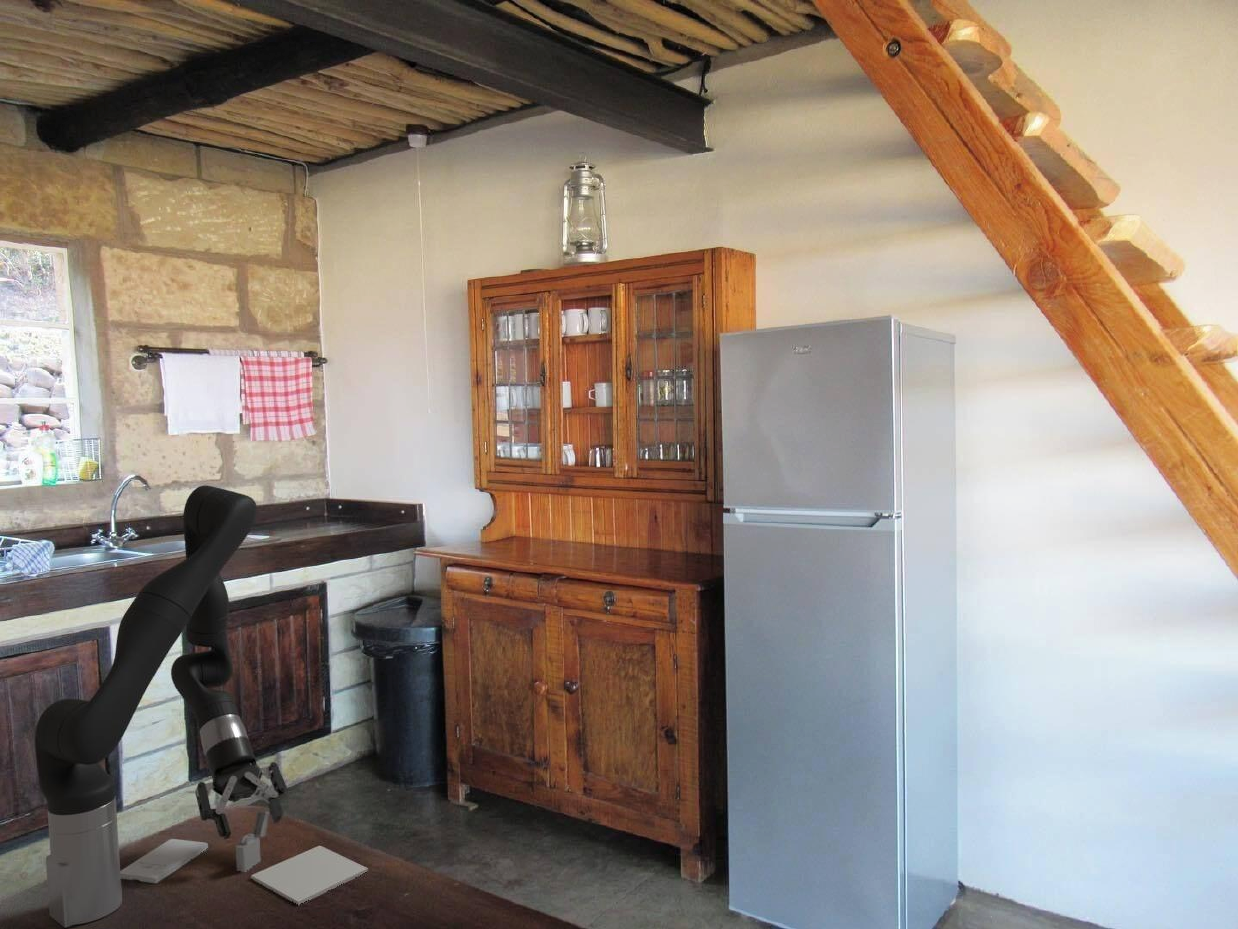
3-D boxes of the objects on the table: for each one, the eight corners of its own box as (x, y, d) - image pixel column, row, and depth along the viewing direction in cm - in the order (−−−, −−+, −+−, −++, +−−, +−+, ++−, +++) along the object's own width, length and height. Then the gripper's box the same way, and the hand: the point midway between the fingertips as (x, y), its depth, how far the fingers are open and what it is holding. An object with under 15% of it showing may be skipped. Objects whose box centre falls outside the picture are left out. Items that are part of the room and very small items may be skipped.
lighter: (244, 872, 157) (242, 826, 156) (236, 871, 157) (233, 825, 157) (272, 853, 164) (270, 809, 163) (264, 852, 164) (262, 807, 164)
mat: (298, 905, 146) (298, 901, 146) (251, 879, 155) (251, 875, 155) (368, 872, 156) (367, 868, 156) (319, 848, 165) (319, 845, 165)
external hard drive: (208, 851, 166) (156, 886, 154) (170, 847, 168) (116, 881, 156) (207, 842, 166) (155, 877, 154) (169, 838, 168) (115, 872, 156)
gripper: (189, 746, 161) (214, 832, 153) (271, 726, 171) (299, 806, 163) (181, 768, 166) (206, 852, 158) (261, 746, 175) (289, 825, 167)
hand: (253, 829), depth 160 cm, fingers open, 8 cm apart
